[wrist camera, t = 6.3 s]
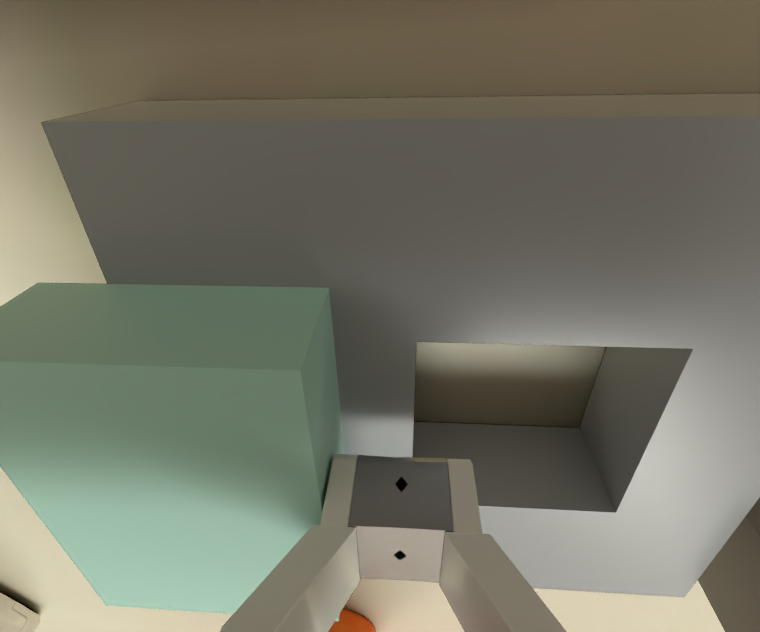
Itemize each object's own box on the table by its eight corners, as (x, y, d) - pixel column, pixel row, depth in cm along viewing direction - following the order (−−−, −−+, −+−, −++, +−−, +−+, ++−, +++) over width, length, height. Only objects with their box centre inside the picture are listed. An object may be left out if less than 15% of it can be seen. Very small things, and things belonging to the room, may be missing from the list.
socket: (861, 92, 9) (1049, 112, 6) (641, 510, 16) (684, 597, 14) (139, 100, 10) (41, 122, 7) (252, 491, 17) (224, 568, 15)
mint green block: (329, 287, 8) (300, 370, 6) (351, 524, 13) (339, 621, 11) (38, 282, 9) (-82, 359, 7) (155, 514, 13) (106, 605, 11)
